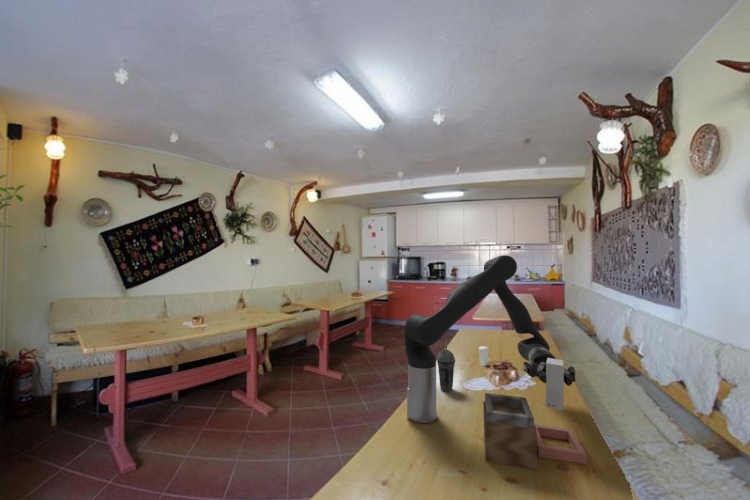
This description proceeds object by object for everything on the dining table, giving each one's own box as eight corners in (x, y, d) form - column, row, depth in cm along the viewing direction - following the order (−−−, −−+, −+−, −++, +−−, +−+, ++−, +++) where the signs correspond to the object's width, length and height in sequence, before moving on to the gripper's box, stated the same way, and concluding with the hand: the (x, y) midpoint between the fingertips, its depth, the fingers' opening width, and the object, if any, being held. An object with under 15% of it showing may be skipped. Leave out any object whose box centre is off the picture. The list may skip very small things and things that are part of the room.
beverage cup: (435, 391, 122) (434, 340, 123) (438, 384, 129) (438, 336, 129) (454, 394, 119) (453, 342, 120) (456, 387, 126) (456, 337, 127)
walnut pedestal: (485, 460, 80) (485, 411, 81) (483, 435, 92) (483, 392, 92) (537, 470, 77) (536, 418, 77) (528, 442, 88) (527, 397, 88)
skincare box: (563, 411, 83) (563, 366, 83) (545, 407, 85) (545, 363, 85) (563, 402, 88) (563, 359, 88) (546, 398, 90) (546, 357, 90)
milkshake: (491, 367, 149) (491, 346, 149) (479, 366, 150) (479, 345, 150) (489, 364, 154) (489, 343, 154) (478, 363, 155) (478, 343, 155)
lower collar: (538, 456, 82) (538, 446, 82) (530, 432, 93) (530, 423, 93) (586, 464, 79) (586, 454, 79) (572, 438, 90) (571, 429, 90)
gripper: (518, 347, 102) (527, 364, 86) (568, 351, 98) (587, 370, 82) (518, 370, 102) (527, 391, 86) (568, 375, 98) (587, 398, 82)
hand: (556, 380), depth 84 cm, fingers closed on skincare box, 5 cm apart
